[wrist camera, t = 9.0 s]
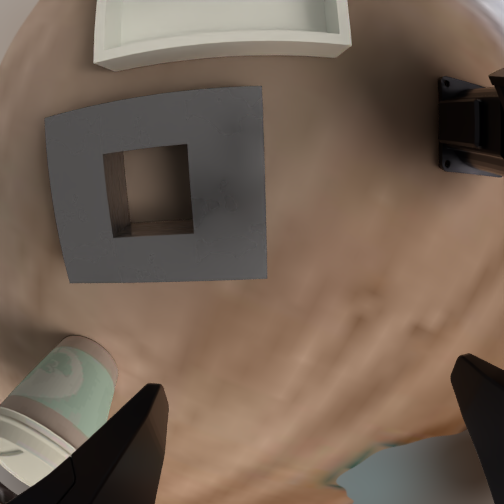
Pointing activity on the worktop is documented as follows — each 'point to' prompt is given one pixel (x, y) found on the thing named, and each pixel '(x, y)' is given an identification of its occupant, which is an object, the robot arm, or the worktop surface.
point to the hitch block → (201, 185)
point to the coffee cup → (56, 408)
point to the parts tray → (216, 30)
